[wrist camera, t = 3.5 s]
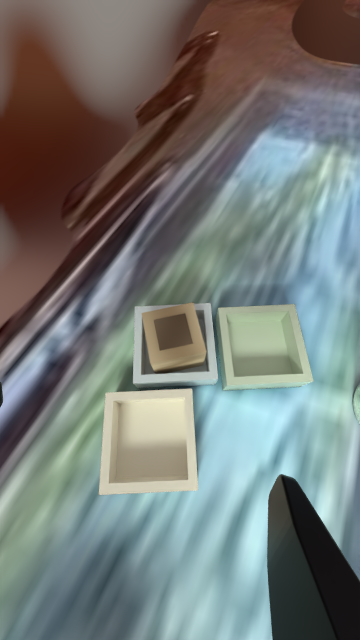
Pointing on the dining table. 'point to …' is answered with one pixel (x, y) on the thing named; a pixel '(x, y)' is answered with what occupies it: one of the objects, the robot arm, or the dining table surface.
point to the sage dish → (261, 348)
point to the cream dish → (148, 442)
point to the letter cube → (174, 338)
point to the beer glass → (357, 403)
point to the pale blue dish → (186, 377)
